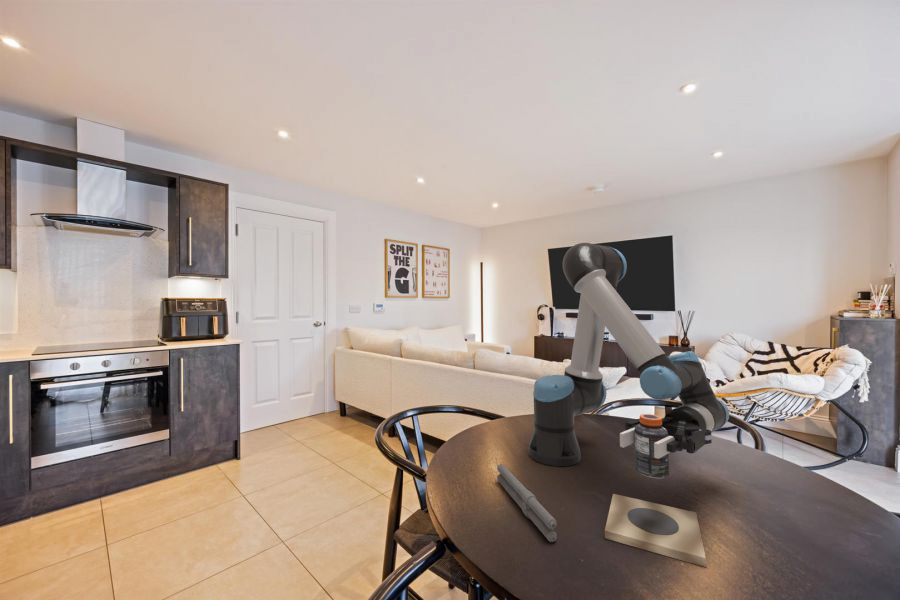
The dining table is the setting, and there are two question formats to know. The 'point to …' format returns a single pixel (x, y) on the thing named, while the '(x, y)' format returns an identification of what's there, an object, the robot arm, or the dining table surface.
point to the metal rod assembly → (528, 503)
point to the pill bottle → (650, 447)
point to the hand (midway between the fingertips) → (638, 445)
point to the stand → (655, 529)
